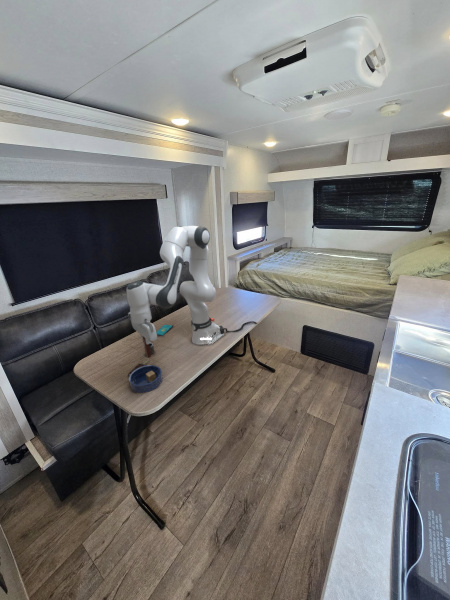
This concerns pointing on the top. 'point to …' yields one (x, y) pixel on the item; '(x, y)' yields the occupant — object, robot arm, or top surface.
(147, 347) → the chopstick
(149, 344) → the holder
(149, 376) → the block
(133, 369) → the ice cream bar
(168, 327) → the smartphone
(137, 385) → the bowl
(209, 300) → the robot arm
